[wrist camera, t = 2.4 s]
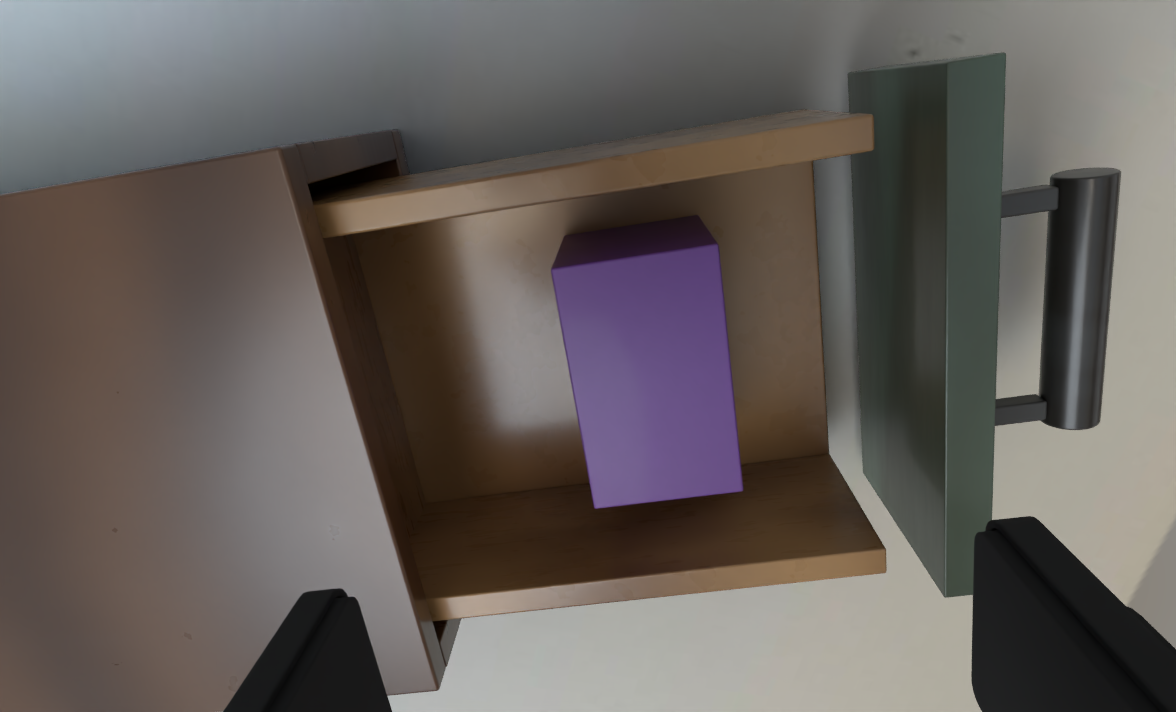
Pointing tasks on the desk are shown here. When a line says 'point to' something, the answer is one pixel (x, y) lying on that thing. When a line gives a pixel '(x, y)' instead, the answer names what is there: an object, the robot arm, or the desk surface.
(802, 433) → the drawer
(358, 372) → the desk cabinet
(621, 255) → the purple block
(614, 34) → the desk surface
